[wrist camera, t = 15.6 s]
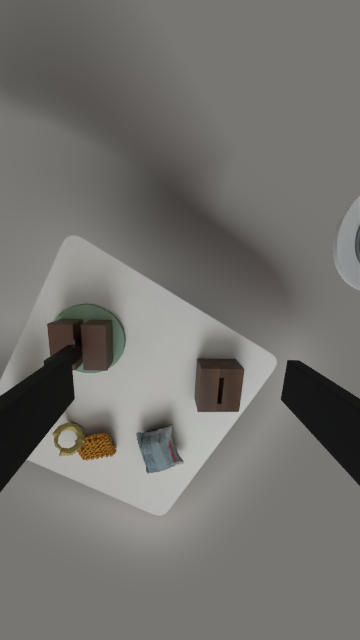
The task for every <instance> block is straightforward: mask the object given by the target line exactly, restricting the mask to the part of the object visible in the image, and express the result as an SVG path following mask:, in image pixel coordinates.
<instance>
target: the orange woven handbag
mask: <svg viewBox="0 0 360 640" xmlns="http://www.w3.org/2000/svg"><path fill="white" fill-rule="evenodd" d="M65 430H72V431H73V432H75V433H76V435H77V437H78V438H77V440H76V441H75V442H76V443H75V445H74V446H73V447H71V448H69V449H68V448H61V446H60V445H59V444H58V436H59V435H60V433H61V432H63V431H65ZM53 437H55V438H54V443H55V446H56V447H57V448H58V449H59V450H60V454H59V456H68V455H73V454H74V453H75V452H76V451H77V452H78V453H79V455H81V457H82V459H83V460H85V459H86V460H89V459H90V458H91V460H93V459H94V458H95V457H96V459H98V458H99V457H101V458H103V456H105V455H106V457H108V456H109V455H110V456H113V455H114V454H115V453H116V449H115V448H116V447H114V446H115V445H114V444H113V442H111V439H110V438H111V437H110V436H109V434H106V433H103V434H102V433H99V434H97V435H96V434H94V435H88V436H86V438H85V439H84V433H83V430H82V428H81V427H80V426H79V425H78V424H73V423H66V424H63V425H60V426H58V428H57V429H56V430H55V431H54V432H53ZM111 452H112V453H111ZM87 454H88V455H87ZM103 454H104V455H103Z"/></svg>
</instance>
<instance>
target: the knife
mask: <svg viewBox="0 0 360 640" xmlns="http://www.w3.org/2000/svg"><path fill="white" fill-rule="evenodd" d="M82 356H83V354H82V338H81V336H79V337H78V338H76V339H75V340H73V345H67V346H65V347H64V348H62V349H61V350H59V351H58V352H56V353H55V354H53V355H52V356H50V357H49V358H47V359H46V360H44V366H45V365H46V364H48V363H49V362H50V361H52V360H53V359H55V358H56V357H71V361H72V366H73V365H74V364H75V363H76V362H77V361H78V360H79V359H80V358H81V357H82Z"/></svg>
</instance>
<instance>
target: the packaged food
mask: <svg viewBox="0 0 360 640" xmlns="http://www.w3.org/2000/svg"><path fill="white" fill-rule="evenodd" d="M137 440H138V444H139V447H140V450H141V453H142V455H143V459H144V462H145V464H146V471H147V473H153V472H160V471H162V470H165V469H168V468H170V467H173V466H175V465H177V464H183V460H182V458H181V457H180V456H179V455H178V453H177V450H176V447H175V444H174V442H173V435H172V425H170V426H169V427H165V428H162V429H158V430H156V431H151V432H145V433H143V432H142V433H141V432H140V433H139V432H138V433H137Z"/></svg>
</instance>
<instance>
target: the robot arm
mask: <svg viewBox="0 0 360 640" xmlns="http://www.w3.org/2000/svg"><path fill="white" fill-rule="evenodd" d="M355 253H356V257H357V259H358V261H359V263H360V225H359V228H358V230H357V233H356V238H355ZM74 399H75V397H74V385H73V373H72V361H71V357H56V358H55V359H53V360H52V361H50V362H49V363H48V364H46V365H45V366H43V367H42V368H40V369H39V370H37V371H36V372H35V373H33V374H32V375H30V376H29V377H27V378H26V379H24V380H23V381H21V382H20V383H19V384H17V385H16V386H14V387H13V388H11V389H10V390H8V391H7V392H6V393H4V394H3V395H1V396H0V492H1V491H2V489H3V488H4V487H5V486H6V484H7V483H8V482H9V481H10V479H11V478H12V477H13V475H14V474H15V473H16V472H17V470H18V469H19V468H20V467H21V465H22V464H23V463H24V462H25V460H26V459H27V458H28V457H29V455H30V454H31V453H32V452H33V450H34V449H35V448H36V447H37V445H38V444H39V443H40V442H41V440H42V439H43V438H44V437H45V435H46V434H47V433H48V432H49V430H50V429H51V428H52V427H53V425H54V424H55V423H56V422H57V420H58V419H59V418H60V417H61V415H62V414H63V413H64V411H65V410H66V409H67V408H68V406H69V405H70V404H71V403H72V401H73V400H74ZM281 400H282V401H283V402H284V404H286V406H287V407H288V408H289V409H290V410H291V411H292V412H293V413H294V414H295V415H296V417H297V418H298V419H299V420H300V421H301V422H302V423H303V424H304V425H305V426H306V428H307V429H308V430H309V431H310V432H311V433H312V434H313V435H314V436H315V437H316V438H317V440H318V441H319V442H320V443H321V444H322V445H323V446H324V447H325V448H326V449H327V450H328V451H329V453H330V454H331V455H332V456H333V457H334V458H335V459H336V460H337V461H338V462H339V464H340V465H341V466H342V467H343V468H344V469H345V470H346V471H347V472H348V473H349V474H350V475H351V477H352V478H353V479H354V480H355V481H356V482H357V483H358V484H359V485H360V399H359V398H358V397H356V396H354V395H353V394H351V393H350V392H348V391H347V390H345V389H343V388H342V387H340V386H339V385H337V384H336V383H334V382H332V381H331V380H329V379H327V378H326V377H324V376H323V375H321V374H320V373H318V372H316V371H315V370H313V369H312V368H310V367H309V366H307V365H305V364H304V363H302V362H300V361H295V360H288V361H287V367H286V373H285V378H284V384H283V390H282V396H281Z"/></svg>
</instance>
